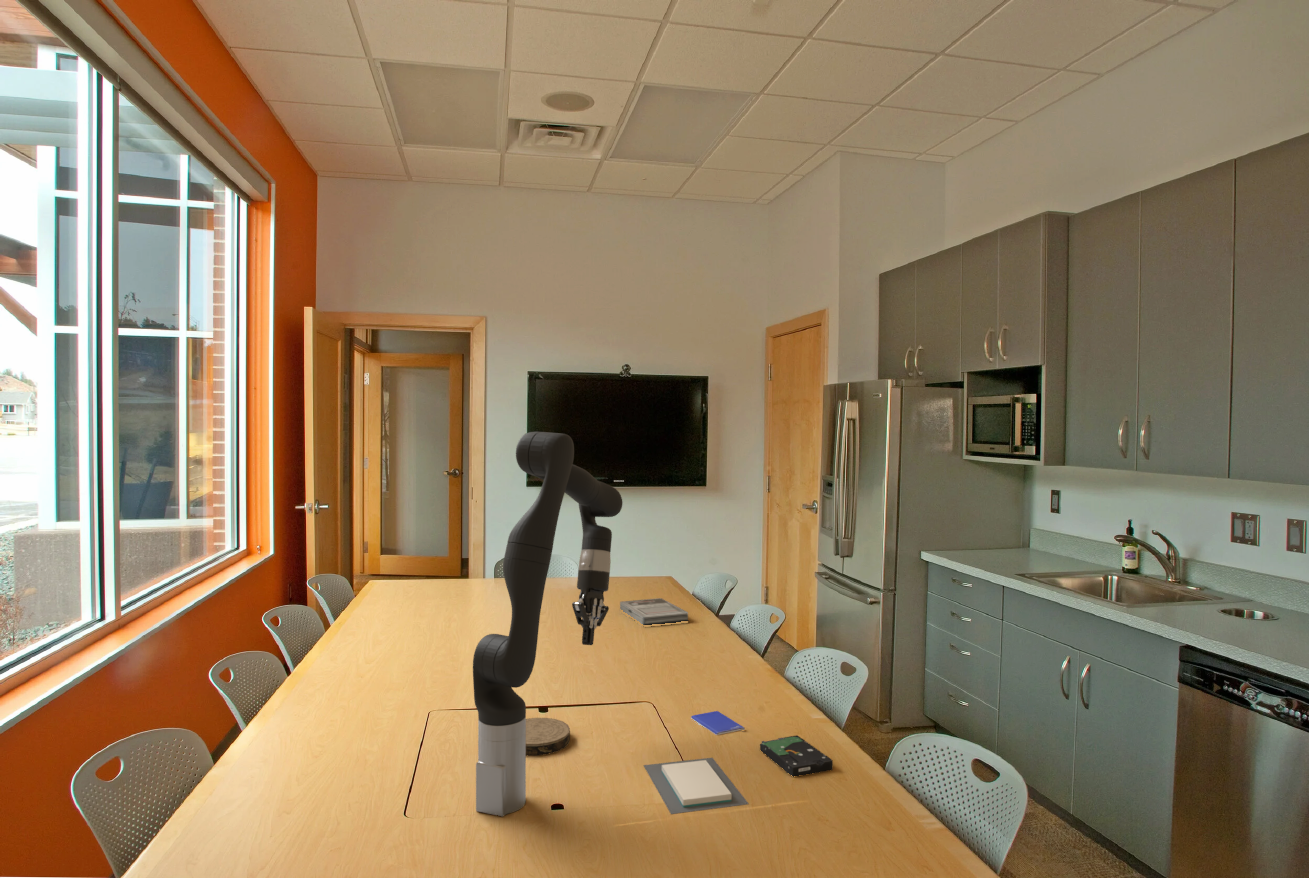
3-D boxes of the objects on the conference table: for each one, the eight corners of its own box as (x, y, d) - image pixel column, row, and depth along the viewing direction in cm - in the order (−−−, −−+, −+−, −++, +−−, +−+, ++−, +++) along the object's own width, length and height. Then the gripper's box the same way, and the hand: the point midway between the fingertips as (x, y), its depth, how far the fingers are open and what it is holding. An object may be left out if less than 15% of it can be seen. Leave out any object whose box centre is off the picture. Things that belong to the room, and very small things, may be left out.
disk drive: (833, 772, 169) (797, 745, 183) (834, 760, 169) (797, 734, 183) (793, 780, 165) (758, 752, 179) (793, 767, 165) (758, 740, 179)
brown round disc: (571, 755, 177) (571, 742, 177) (500, 759, 174) (500, 746, 174) (568, 728, 192) (568, 716, 192) (503, 731, 190) (503, 719, 190)
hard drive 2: (744, 726, 190) (718, 710, 201) (716, 732, 187) (691, 715, 198) (744, 733, 190) (718, 716, 201) (716, 739, 187) (691, 721, 198)
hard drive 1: (644, 629, 287) (644, 617, 287) (619, 612, 312) (619, 601, 312) (688, 624, 294) (689, 612, 294) (661, 608, 319) (661, 598, 319)
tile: (661, 765, 167) (683, 800, 151) (705, 760, 169) (731, 794, 154) (661, 772, 167) (683, 807, 151) (705, 767, 169) (731, 801, 154)
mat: (643, 767, 170) (643, 765, 170) (712, 759, 174) (712, 757, 174) (670, 816, 149) (671, 814, 149) (748, 806, 153) (748, 804, 153)
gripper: (592, 567, 178) (585, 645, 173) (621, 573, 189) (615, 647, 185) (565, 566, 181) (557, 643, 177) (595, 573, 193) (589, 644, 188)
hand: (587, 644), depth 181 cm, fingers closed
